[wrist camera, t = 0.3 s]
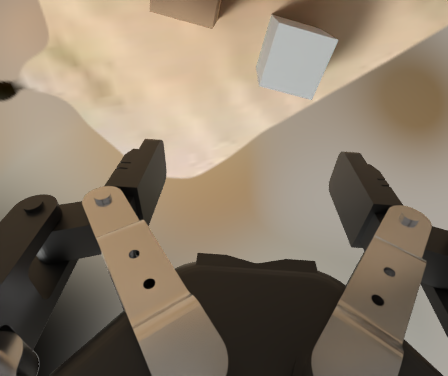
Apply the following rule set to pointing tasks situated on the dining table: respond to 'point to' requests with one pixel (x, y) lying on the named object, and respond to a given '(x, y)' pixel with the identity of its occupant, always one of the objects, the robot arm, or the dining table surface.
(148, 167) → the robot arm
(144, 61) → the dining table surface
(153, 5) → the brown wooden block
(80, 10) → the dining table surface
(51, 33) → the dining table surface
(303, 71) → the grey rectangular block
